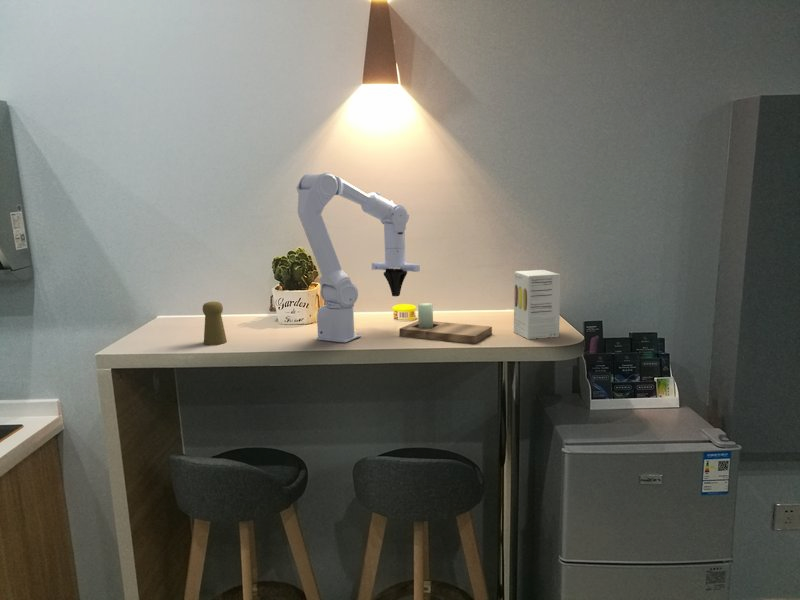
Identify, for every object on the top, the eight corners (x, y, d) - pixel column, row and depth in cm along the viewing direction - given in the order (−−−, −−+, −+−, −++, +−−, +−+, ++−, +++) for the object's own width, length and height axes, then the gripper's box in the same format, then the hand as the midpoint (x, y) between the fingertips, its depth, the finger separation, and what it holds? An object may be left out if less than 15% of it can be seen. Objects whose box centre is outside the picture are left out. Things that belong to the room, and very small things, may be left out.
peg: (416, 333, 176) (415, 305, 174) (422, 330, 179) (422, 302, 178) (429, 335, 174) (428, 306, 172) (435, 332, 177) (435, 303, 176)
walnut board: (399, 335, 174) (399, 328, 173) (419, 326, 184) (419, 320, 184) (475, 343, 163) (475, 336, 163) (491, 333, 173) (491, 326, 173)
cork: (199, 342, 171) (196, 302, 169) (219, 338, 175) (216, 299, 174) (210, 346, 167) (207, 305, 165) (231, 342, 171) (228, 301, 169)
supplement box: (512, 332, 175) (513, 270, 172) (543, 329, 177) (544, 269, 174) (528, 339, 166) (528, 275, 163) (560, 337, 168) (561, 273, 165)
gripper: (424, 247, 179) (425, 295, 181) (380, 245, 186) (381, 292, 188) (412, 249, 173) (413, 299, 175) (367, 248, 180) (368, 295, 182)
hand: (396, 295), depth 182 cm, fingers closed
